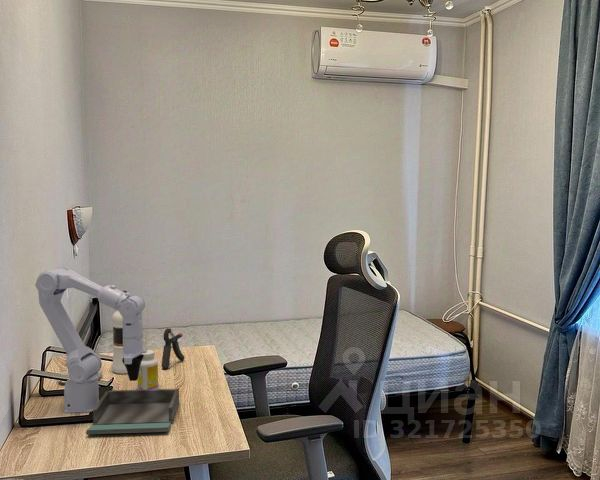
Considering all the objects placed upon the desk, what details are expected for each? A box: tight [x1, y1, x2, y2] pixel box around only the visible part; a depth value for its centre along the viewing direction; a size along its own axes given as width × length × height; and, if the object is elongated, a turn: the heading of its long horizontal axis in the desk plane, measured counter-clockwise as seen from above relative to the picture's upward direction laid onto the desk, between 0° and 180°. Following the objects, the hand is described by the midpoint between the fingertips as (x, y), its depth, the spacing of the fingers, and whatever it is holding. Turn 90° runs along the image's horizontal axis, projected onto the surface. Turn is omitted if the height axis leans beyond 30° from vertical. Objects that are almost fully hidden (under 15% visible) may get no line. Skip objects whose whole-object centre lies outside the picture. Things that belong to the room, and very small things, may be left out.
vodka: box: [111, 290, 128, 375], centre depth 197 cm, size 9×9×30 cm
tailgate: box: [85, 423, 172, 435], centre depth 147 cm, size 22×1×6 cm
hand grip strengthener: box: [161, 327, 185, 371], centre depth 204 cm, size 2×12×15 cm, turn 158°
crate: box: [92, 388, 180, 425], centre depth 159 cm, size 22×15×5 cm
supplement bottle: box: [137, 349, 159, 390], centre depth 179 cm, size 7×7×13 cm
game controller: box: [59, 368, 103, 385], centre depth 188 cm, size 14×4×10 cm
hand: (133, 380), depth 162 cm, fingers closed
